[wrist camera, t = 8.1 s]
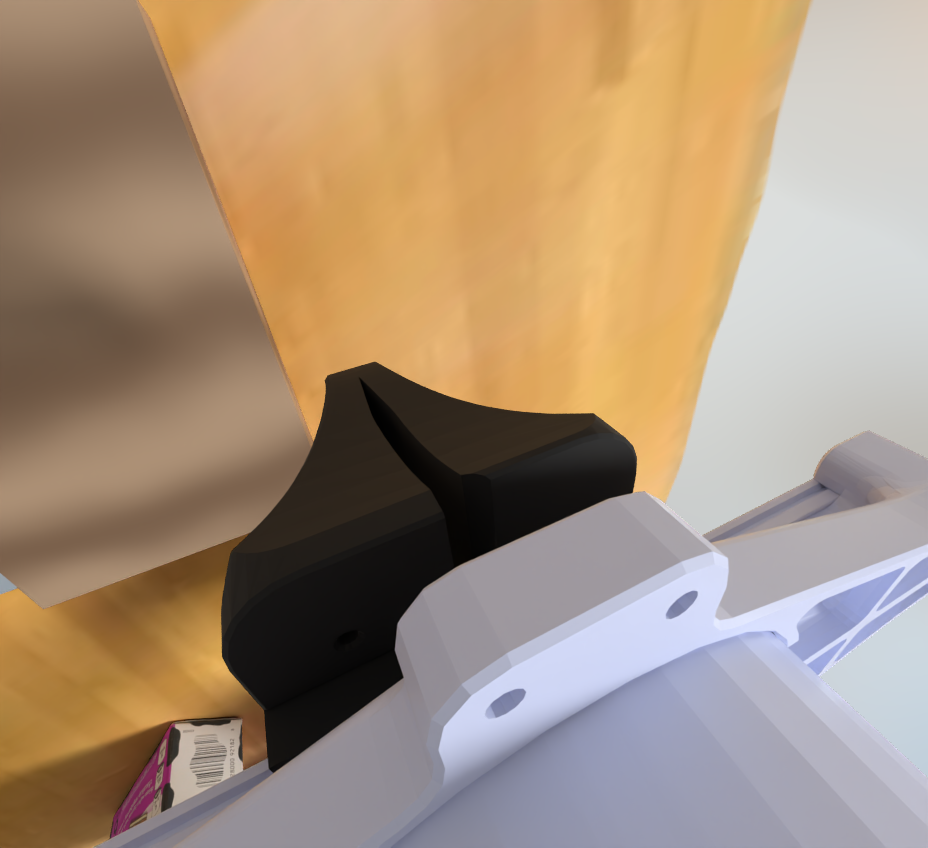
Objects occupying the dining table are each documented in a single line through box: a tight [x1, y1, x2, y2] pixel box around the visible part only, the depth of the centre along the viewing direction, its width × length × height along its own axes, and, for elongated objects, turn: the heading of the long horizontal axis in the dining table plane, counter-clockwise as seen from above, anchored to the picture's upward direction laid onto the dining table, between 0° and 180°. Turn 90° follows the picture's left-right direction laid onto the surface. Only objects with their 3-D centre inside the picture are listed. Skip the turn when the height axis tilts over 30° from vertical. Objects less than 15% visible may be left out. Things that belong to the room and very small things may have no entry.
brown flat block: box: [0, 0, 313, 609], centre depth 16 cm, size 18×12×4 cm, turn 6°
